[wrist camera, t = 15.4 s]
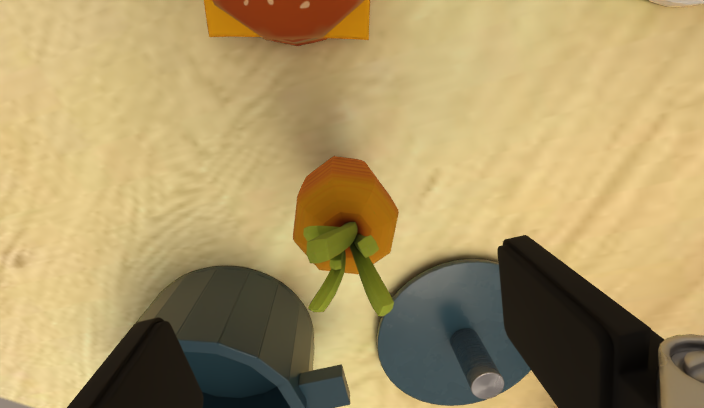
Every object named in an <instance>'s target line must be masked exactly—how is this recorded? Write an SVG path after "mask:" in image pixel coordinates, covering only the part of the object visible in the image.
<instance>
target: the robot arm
mask: <svg viewBox="0 0 704 408" xmlns="http://www.w3.org/2000/svg"><path fill="white" fill-rule="evenodd" d="M648 1H650V2H653V3H657V4H660V5H663V6H668V7H688V6H694V5H700V4H704V0H648ZM498 262H499V274H500V285H501V297H502V308H503V320H504V328H505V331H506V334H507V336H508V338H509V340H510V341H511V342H512V344H513V345H514V347H515V348H516V349H517V351H518V352H519V354H520V355H521V356H522V358H523V359H524V361H525V362H526V363H527V365H528V366H529V368H530V369H531V370H532V372H533V373H534V374H535V376H536V377H537V379H538V380H539V381H540V383H541V384H542V386H543V387H544V388H545V390H546V391H547V393H548V394H549V395H550V397H551V398H552V400H553V401H554V402H555V404H556V405H557V407H558V408H704V336H700V335H692V334H689V335H676V336H673V337H669V338H666V339H665V340H664V339H663V338H662V337H660V336H659V335H658V334H656V333H655V332H654V331H652V330H651V328H650V327H648V326H647V325H646V324H644V323H643V322H642V321H640V320H639V319H638V318H636V317H635V316H634V315H632V314H631V313H630V312H628V311H627V310H626V309H624V308H623V307H622V306H620V305H619V304H618V303H616V302H615V301H614V300H612V299H611V298H610V297H608V296H607V295H606V294H604V293H603V292H602V291H600V290H599V289H598V288H596V287H595V286H594V285H592V284H591V283H590V282H588V281H587V280H586V279H584V278H583V277H582V276H580V275H579V274H578V273H576V272H575V271H574V270H572V269H571V268H570V267H568V266H567V265H566V264H564V263H563V262H562V261H560V260H559V259H558V258H556V257H555V256H554V255H552V254H551V253H550V252H548V251H547V250H546V249H544V248H543V247H542V246H540V245H539V244H538V243H536V242H535V241H534V240H532V239H531V238H530V237H528V236H526V235H523V236H519V237H514V238H510V239H505V240H504V241H503V246H499V247H498ZM202 407H203V394H202V391H201V389H200V387H199V384H198V382H197V380H196V378H195V376H194V374H193V371H192V369H191V367H190V365H189V363H188V361H187V358H186V356H185V354H184V352H183V350H182V347H181V345H180V343H179V341H178V339H177V337H176V334H175V332H174V330H173V328H172V326H171V324H170V323H169V322H168V321H164V320H163V319H162V318H159V317H157V318H153V319H148V320H144V321H140V322H137V323H135V324H134V325H133V327H132V328H131V329H130V330H129V332H128V333H127V334H126V335H125V337H124V338H123V339H122V340H121V341H120V343H119V344H118V345H117V346H116V348H115V349H114V350H113V351H112V353H111V354H110V355H109V356H108V358H107V359H106V360H105V361H104V362H103V364H102V365H101V366H100V367H99V369H98V370H97V371H96V372H95V374H94V375H93V376H92V377H91V379H90V380H89V381H88V382H87V383H86V385H85V386H84V387H83V388H82V390H81V391H80V392H79V393H78V395H77V396H76V397H75V398H74V400H73V401H72V402H71V403H70V405H69V406H68V407H67V408H202Z"/></svg>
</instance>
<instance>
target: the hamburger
mask: <svg viewBox="0 0 704 408" xmlns="http://www.w3.org/2000/svg"><path fill="white" fill-rule="evenodd" d="M204 5H205V11H206V18H207V25H208V32H209V37H229V36H231V37H262V38H264V39H265V40H271V41H276V42H281V43H285V44H290V45H295V46H300V45H305V44H309V43H314V42H318V41H323V40H326V39H327V38H341V39H363V40H369V14H370V0H204Z"/></svg>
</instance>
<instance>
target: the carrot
mask: <svg viewBox="0 0 704 408" xmlns="http://www.w3.org/2000/svg"><path fill="white" fill-rule="evenodd" d="M398 213H399V212H398V209H397V207H396V205H395V204H394V202H393V200H392V199H391V197H390V196H389V194H388V193H387V191H386V190H385V189H384V187H383V186H382V184H381V183H380V182H379V180H378V179H377V178H376V176H375V175H374V174H373V172H372V171H371V169H370V168H369V167H368V165H367V164H366V163H365V162H364V161H362V160H358V159H351V158H344V157H337V156H333V157H332V158H330V159H329V160H328V161H326V162H325V163H324V164H322V165H321V166H320V167H318V168H317V169H316V170H314V171H313V172H312V173H310V174H309V175H308V176H307V177H306V178H305V180H304V182H303V184H302V186H301V189H300V191H299V194H298V196H297V205H296V214H295V223H294V232H293V239H294V241H295V243H296V244H297V245H298V246H299V247H300V248H301V249H302V251H303V252H304V253H305V254H306V255H307V256H308V259H309V261H310V263H314V264H315V265H316V266H317V268H318V269H319V270H325V271H330V272H329V274H328V276H327V278H326V280H325V281H324V283H323V285H322V286H321V288H320V290H319V291H318V293H317V294H316V296H315V297H314V299H313V300H312V302H311V304H310V305H309V307H308V308H309V309H310V310H311V311H313V312H324V311H325V309H326V308H327V307H328V305H329V304H330V302H331V301H332V299H333V297H334V296H335V294H336V292H337V289H338V287H339V285H340V283H341V280H342V277H343V274H344V273H352V274H359V275H360V278H361V281H362V284H363V286H364V289H365V292H366V295H367V297H368V299H369V301H370V303H371V305H372V307H373V309H374V310H375V312H376V313H377V315H378V316H385V315H386V314H388V313H389V312H390V311H391V310H392V309H393V305H394V301H393V299H392V297H391V295H390V293H389V292H388V290H387V288H386V287H385V285H384V283H383V281H382V280H381V278H380V276H379V274H378V272H377V271H376V269H375V267H374V265H373V264H374V263H376V262H377V261H379V260H380V259H381V258H383V257H384V256H386V255H387V254H389V253H390V251H391V247H392V242H393V237H394V232H395V227H396V223H397V218H398Z"/></svg>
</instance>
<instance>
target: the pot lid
mask: <svg viewBox="0 0 704 408" xmlns="http://www.w3.org/2000/svg"><path fill="white" fill-rule="evenodd" d="M392 299H393V301H394V305H393V309H392V310H391V311H390V312H389V313H388V314H386V315H385V316H382V317H381V320H380V323H379V326H378V332H377V348H378V355H379V359H380V362H381V365H382V367H383V369H384V371H385V373H386V375H387V376H388V377H389V379H390V380H391V381H392V382H393V383H394V384H395V385H396V386H397V387H398V388H399V389H400V390H402V391H403V392H404V393H406V394H408V395H410V396H411V397H413V398H416V399H418V400H421V401H423V402H427V403H431V404H437V405H448V406H454V405H466V404H472V403H476V402H480V401H484V400H486V399H489V398H492V397H495V396H497V395H498V394H500V393H503V392H504V391H506V390H508V389H509V388H511V387H512V386H514V385H515V384H516V383H518V382H519V381H520V380H521V379H522V378H523V377H525V376H526V375H527V374H528V373H529V371H530V370H531V369H530V368H529V366H528V365H527V363H526V362H525V361H524V359H523V358H522V356H521V355H520V354H519V352H518V351H517V349H516V348H515V347H514V345H513V344H512V342H511V341H510V340H509V338H508V336H507V334H506V331H505V328H504V320H503V308H502V297H501V285H500V274H499V262H496V261H491V260H484V259H462V260H456V261H451V262H447V263H443V264H440V265H437V266H435V267H432V268H430V269H428V270H426V271H424V272H422V273H420V274H418V275H417V276H416V277H414V278H413V279H411V280H410V281H408V282H407V283H406V284H405V285H404V286H403V287H402V288H401V289H399V291H398V292H397V293H396V294H395V295H394V296H393V297H392Z"/></svg>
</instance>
